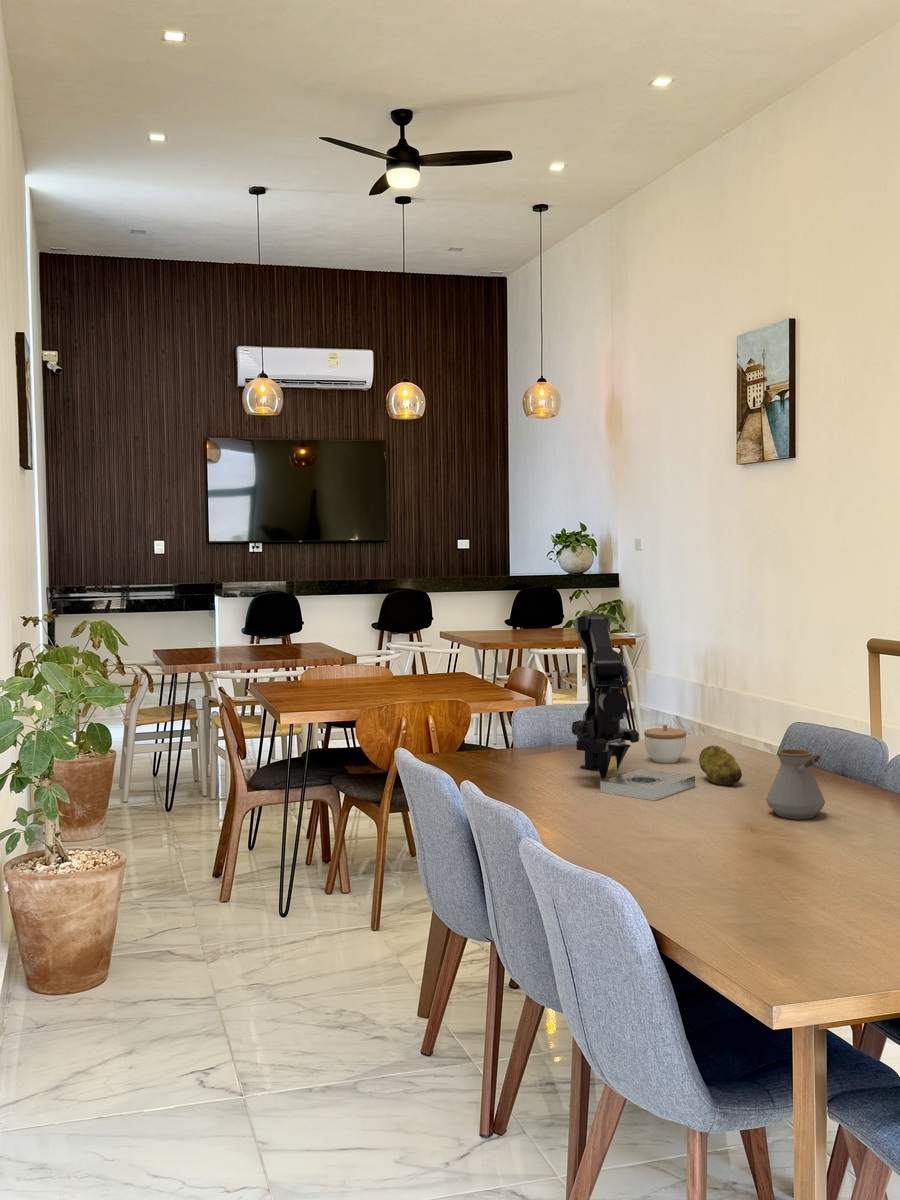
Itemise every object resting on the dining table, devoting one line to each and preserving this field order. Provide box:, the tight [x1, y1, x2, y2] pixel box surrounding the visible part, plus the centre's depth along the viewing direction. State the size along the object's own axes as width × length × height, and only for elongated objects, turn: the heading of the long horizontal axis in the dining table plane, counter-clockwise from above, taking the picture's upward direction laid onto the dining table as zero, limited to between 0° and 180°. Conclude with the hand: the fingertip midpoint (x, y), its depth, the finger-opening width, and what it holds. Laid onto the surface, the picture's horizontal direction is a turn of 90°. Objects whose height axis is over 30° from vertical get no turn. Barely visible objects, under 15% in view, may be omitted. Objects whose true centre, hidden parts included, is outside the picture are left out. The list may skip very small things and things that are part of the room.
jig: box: [599, 768, 696, 801], centre depth 247 cm, size 18×14×2 cm
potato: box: [698, 745, 743, 786], centre depth 254 cm, size 8×13×8 cm, turn 178°
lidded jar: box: [643, 724, 687, 764], centre depth 281 cm, size 11×11×9 cm
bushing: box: [599, 754, 618, 781], centre depth 257 cm, size 4×4×6 cm
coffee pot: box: [765, 749, 826, 820], centre depth 217 cm, size 21×12×15 cm, turn 179°
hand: (608, 776), depth 257 cm, fingers closed on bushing, 4 cm apart
